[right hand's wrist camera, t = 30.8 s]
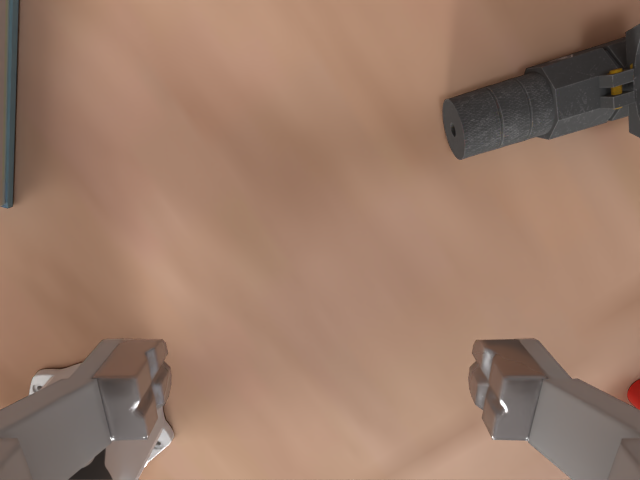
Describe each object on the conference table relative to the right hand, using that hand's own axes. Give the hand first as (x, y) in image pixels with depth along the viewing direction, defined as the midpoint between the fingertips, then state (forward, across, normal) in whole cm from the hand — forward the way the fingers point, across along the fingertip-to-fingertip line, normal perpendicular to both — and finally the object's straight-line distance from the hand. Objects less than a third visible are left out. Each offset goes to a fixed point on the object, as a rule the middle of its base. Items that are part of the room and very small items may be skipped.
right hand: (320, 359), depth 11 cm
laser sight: (+32, -23, -6) cm, 40 cm away
